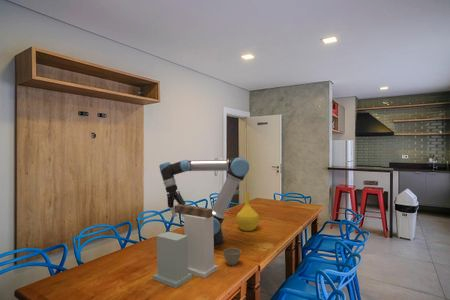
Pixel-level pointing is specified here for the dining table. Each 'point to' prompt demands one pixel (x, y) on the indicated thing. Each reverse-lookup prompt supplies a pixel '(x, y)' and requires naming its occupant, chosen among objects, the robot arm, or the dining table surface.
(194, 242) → the tall stand
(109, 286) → the dining table surface
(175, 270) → the post
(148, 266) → the dining table surface
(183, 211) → the walnut beam
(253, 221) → the vase
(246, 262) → the dining table surface
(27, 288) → the dining table surface
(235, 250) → the beige round bowl
